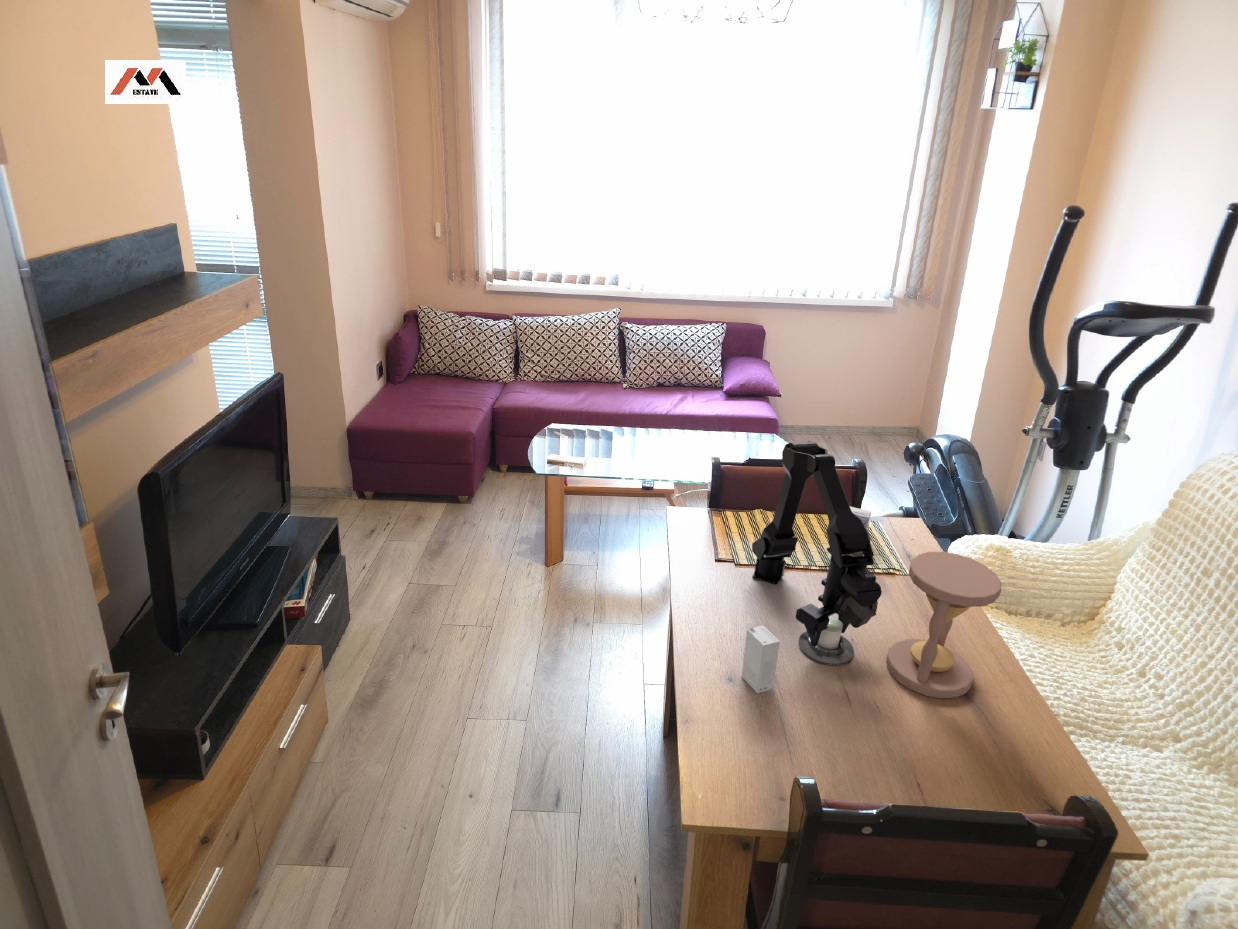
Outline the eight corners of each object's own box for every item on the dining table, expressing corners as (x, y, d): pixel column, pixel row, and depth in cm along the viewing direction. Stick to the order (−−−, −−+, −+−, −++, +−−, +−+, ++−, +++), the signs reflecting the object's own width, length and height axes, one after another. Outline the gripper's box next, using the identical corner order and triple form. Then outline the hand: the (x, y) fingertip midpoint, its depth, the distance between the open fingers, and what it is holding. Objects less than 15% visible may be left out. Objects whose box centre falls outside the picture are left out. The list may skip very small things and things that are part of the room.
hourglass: (909, 636, 185) (934, 542, 174) (984, 674, 174) (1016, 576, 163) (870, 668, 173) (895, 569, 163) (948, 711, 162) (979, 608, 152)
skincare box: (773, 689, 165) (782, 641, 160) (755, 695, 163) (764, 646, 158) (756, 671, 170) (764, 624, 165) (738, 676, 168) (746, 628, 163)
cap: (840, 653, 176) (845, 630, 174) (818, 652, 176) (822, 630, 174) (834, 638, 181) (838, 616, 178) (811, 638, 181) (816, 616, 178)
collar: (793, 654, 176) (794, 648, 175) (804, 625, 186) (805, 619, 185) (848, 671, 172) (850, 665, 171) (857, 641, 182) (858, 634, 181)
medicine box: (865, 538, 226) (871, 511, 222) (862, 545, 222) (869, 517, 218) (837, 531, 229) (843, 504, 225) (834, 537, 225) (839, 510, 221)
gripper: (841, 611, 160) (828, 674, 167) (899, 585, 171) (884, 644, 177) (799, 584, 168) (788, 645, 175) (857, 560, 179) (844, 618, 185)
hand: (827, 639), depth 178 cm, fingers open, 9 cm apart
